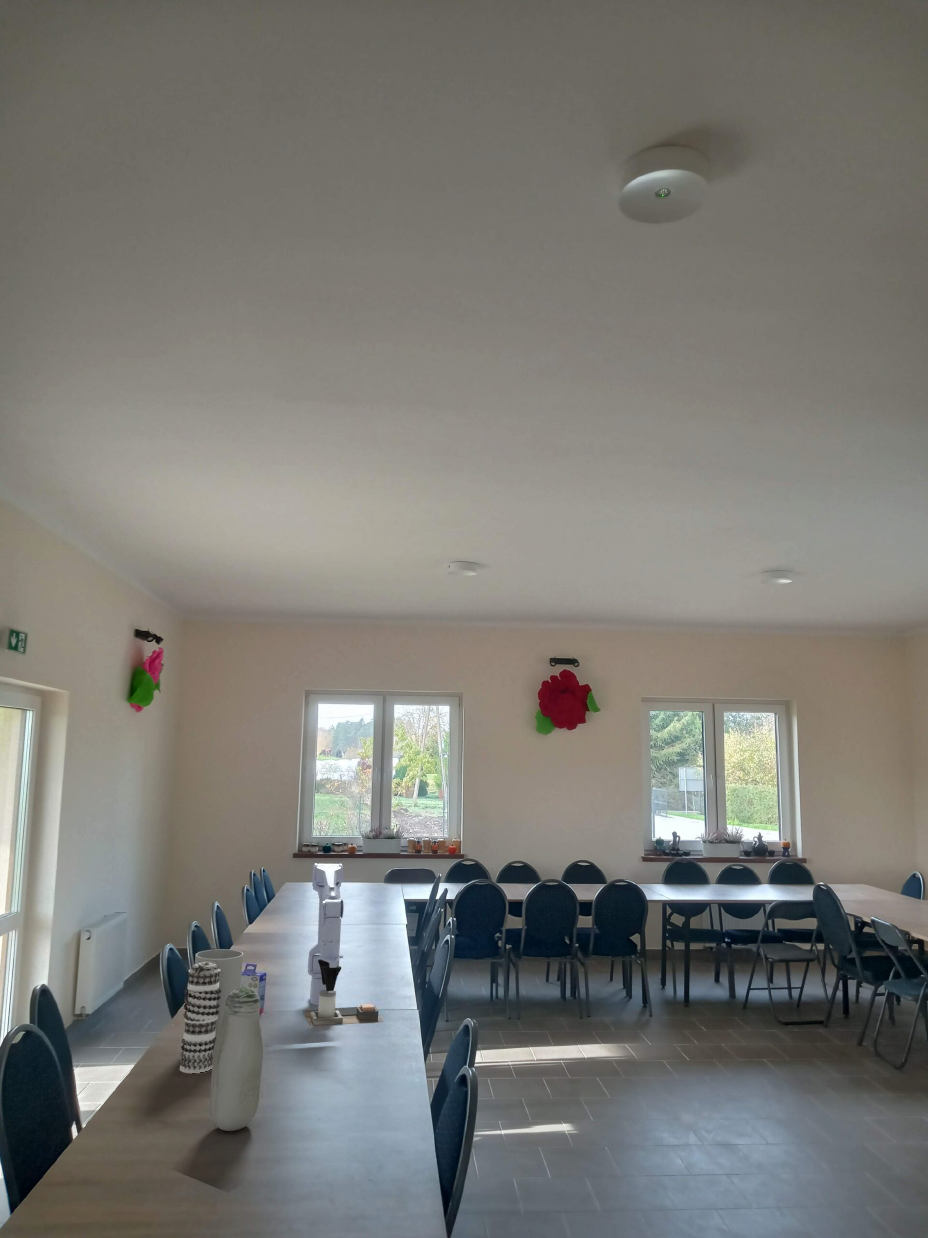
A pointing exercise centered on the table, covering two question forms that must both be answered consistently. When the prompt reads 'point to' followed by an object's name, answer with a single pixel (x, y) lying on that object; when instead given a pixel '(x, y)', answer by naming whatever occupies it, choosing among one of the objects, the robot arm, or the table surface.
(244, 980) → the ink cartridge box
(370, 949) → the table surface
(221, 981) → the cylinder vase
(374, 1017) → the base board
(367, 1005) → the peach square block
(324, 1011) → the cylinder
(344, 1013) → the rubber mat
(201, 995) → the decorative candle
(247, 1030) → the glass bottle
